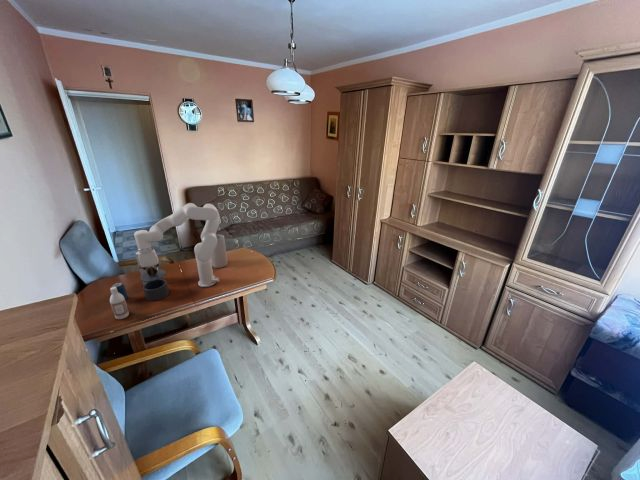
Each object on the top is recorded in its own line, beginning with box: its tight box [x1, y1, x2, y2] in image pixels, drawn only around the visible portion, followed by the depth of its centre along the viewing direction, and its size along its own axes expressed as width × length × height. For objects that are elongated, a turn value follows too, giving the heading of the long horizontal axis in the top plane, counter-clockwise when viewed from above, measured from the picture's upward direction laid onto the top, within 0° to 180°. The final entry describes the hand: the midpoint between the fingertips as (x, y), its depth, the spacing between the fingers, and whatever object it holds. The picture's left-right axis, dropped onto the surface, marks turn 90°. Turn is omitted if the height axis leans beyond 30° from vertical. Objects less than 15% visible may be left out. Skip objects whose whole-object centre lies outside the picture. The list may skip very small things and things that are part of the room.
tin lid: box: [140, 266, 167, 283], centre depth 173 cm, size 15×15×7 cm
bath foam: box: [109, 287, 130, 320], centre depth 156 cm, size 7×7×20 cm
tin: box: [142, 278, 170, 302], centre depth 178 cm, size 14×14×8 cm
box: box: [134, 250, 159, 285], centre depth 190 cm, size 8×8×25 cm
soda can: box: [110, 281, 129, 302], centre depth 172 cm, size 7×7×12 cm
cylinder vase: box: [211, 233, 229, 269], centre depth 216 cm, size 12×12×25 cm
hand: (152, 274), depth 174 cm, fingers closed on tin lid, 2 cm apart
